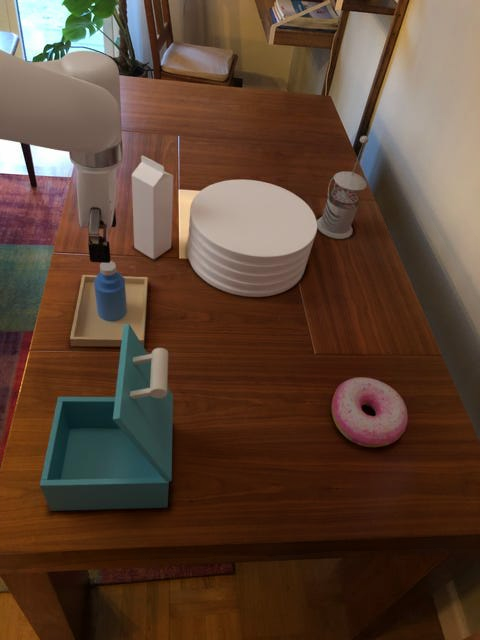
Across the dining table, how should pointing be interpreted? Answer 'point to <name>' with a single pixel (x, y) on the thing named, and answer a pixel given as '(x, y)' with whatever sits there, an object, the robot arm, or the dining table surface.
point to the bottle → (110, 293)
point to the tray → (108, 333)
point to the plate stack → (250, 237)
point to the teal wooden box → (96, 461)
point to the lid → (145, 401)
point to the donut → (363, 426)
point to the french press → (342, 203)
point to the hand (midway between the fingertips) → (103, 242)
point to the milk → (152, 208)
